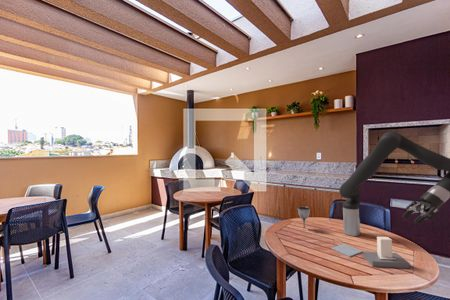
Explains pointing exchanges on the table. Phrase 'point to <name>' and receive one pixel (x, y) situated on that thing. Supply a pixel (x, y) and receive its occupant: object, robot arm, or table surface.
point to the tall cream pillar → (384, 247)
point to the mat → (346, 250)
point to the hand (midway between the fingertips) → (409, 220)
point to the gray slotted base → (386, 260)
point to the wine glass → (303, 213)
